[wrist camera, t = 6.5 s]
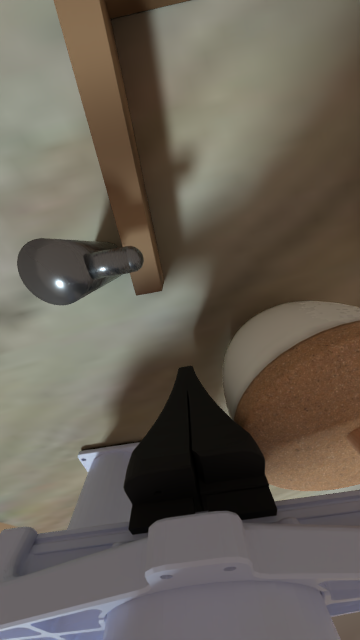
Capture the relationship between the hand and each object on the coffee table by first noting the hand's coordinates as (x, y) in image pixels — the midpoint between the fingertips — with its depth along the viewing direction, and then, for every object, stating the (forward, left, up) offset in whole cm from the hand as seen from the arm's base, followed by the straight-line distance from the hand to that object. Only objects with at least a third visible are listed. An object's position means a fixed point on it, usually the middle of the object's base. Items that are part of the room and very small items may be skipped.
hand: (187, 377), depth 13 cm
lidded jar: (0, -7, -3) cm, 8 cm away
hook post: (+9, +3, -2) cm, 10 cm away
